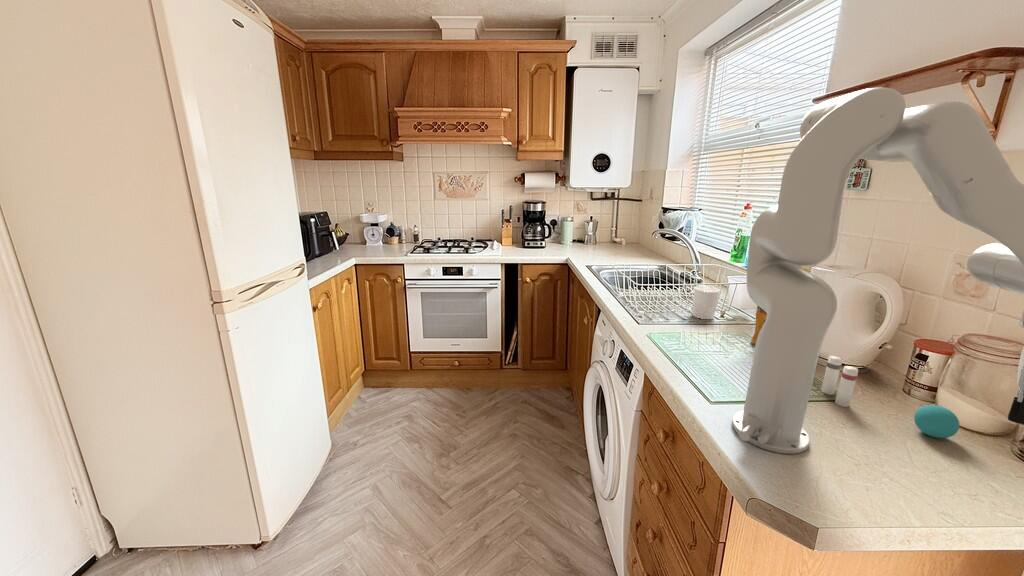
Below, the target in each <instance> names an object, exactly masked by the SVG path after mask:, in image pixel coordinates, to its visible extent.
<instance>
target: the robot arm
mask: <svg viewBox="0 0 1024 576" xmlns="http://www.w3.org/2000/svg"><path fill="white" fill-rule="evenodd" d="M799 127H800V128H799V136H800V141H799V142H798V143H797V144H796V146H795V147H794V149H793V150H792V152H791V154H790V155H789V156H788V159H787V161H786V164H785V166H784V169H783V172H782V177H781V183H780V189H779V195H778V199H777V200H778V201H777V204H775V205H773V206H771V207H769V208H767V209H765V210H764V211H762V213H760V214H759V216H757V217H756V220H755V222H753V224H752V228H751V231H750V236H749V244H748V256H747V265H746V267H747V268H746V291H747V294H748V297H749V298H750V299H751V300H752V302H753V303H754V304H755V305H756V306H757V305H758V306H759V307H760V308H762V309H763V310H764V311H765V312H766V313H767V318H766V320H765V323H764V325H763V326H762V328H761V330H760V332H759V334H758V337H757V341H756V344H754V345H755V346H754V350H753V353H754V354H753V359H752V363H751V368H750V369H751V370H750V373H749V380H748V384H747V385H748V386H747V390H746V394H745V395H746V396H745V400H744V401H745V402H744V407H743V410H741V411H738V412H735V414H734V415H733V416H732V420H731V425H732V427H733V430H734V431H735V432H736V434H738V437H739V438H740V440H742V441H743V442H749V443H750V444H752V445H753V446H756V447H758V448H760V449H764V450H765V451H770V452H774V453H778V454H783V455H784V454H789V455H794V454H800V453H803V452H805V451H807V449H809V446H810V443H811V441H810V436H809V434H808V432H807V431H806V430H805V429H804V428H803V425H804V421H805V416H806V413H807V408H808V403H809V400H810V396H811V391H812V387H813V382H814V379H815V374H816V370H817V369H816V368H817V363H818V361H819V356H820V352H821V349H822V345H823V342H824V340H825V338H826V335H827V333H828V330H829V329H830V327H831V325H832V324H833V321H834V319H835V317H836V316H835V315H836V313H837V310H838V309H837V308H838V299H837V295H836V294H835V291H834V289H833V288H832V287H831V286H830V285H829V283H827V282H826V281H825V280H824V279H822V278H821V277H819V276H817V275H816V276H815V275H813V274H811V273H808V272H806V271H804V270H801V269H802V265H803V266H808V265H816V266H817V265H818V264H821V263H824V262H825V261H826V260H828V259H829V257H830V256H831V255H832V253H833V252H834V250H835V248H836V245H837V241H838V234H839V227H840V222H841V221H840V220H841V219H840V218H841V212H842V206H843V197H844V192H845V188H846V184H847V180H848V178H849V175H850V172H851V170H853V168H854V166H855V165H856V164H857V162H858V161H860V160H867V161H875V162H876V161H877V162H890V163H895V162H896V163H900V162H909V163H910V164H911V165H912V167H913V168H914V169H915V171H916V173H917V174H918V175H919V178H920V179H921V181H922V183H923V184H924V185H925V187H926V188H927V190H928V192H929V194H930V195H931V198H933V201H934V202H935V204H936V206H937V207H938V209H939V210H941V211H942V212H943V213H944V214H946V215H948V216H949V217H951V218H953V219H954V220H956V221H958V222H960V223H962V224H965V225H967V226H970V227H971V228H974V229H976V230H978V231H980V232H982V233H985V234H986V235H988V236H990V237H992V238H993V239H995V240H997V242H991V243H987V244H985V245H982V246H980V247H979V248H977V249H976V250H974V251H973V252H972V253H971V254H970V255H969V257H968V259H967V261H966V268H967V271H968V273H969V275H970V276H972V278H973V279H975V280H976V281H978V282H980V283H982V284H984V285H988V286H990V287H994V288H997V289H1001V290H1004V291H1008V292H1012V293H1013V292H1014V293H1017V294H1020V295H1023V296H1024V184H1023V183H1022V182H1021V181H1019V179H1017V177H1016V175H1015V174H1014V173H1013V171H1012V170H1011V168H1010V165H1009V163H1008V162H1007V159H1005V157H1004V155H1003V154H1002V152H1001V150H1000V148H999V147H998V145H997V143H996V141H995V140H994V137H993V136H992V134H991V132H990V131H989V129H988V127H987V126H986V124H985V122H984V120H983V118H982V117H981V116H980V114H979V112H978V111H977V110H976V109H975V107H974V106H972V105H970V104H968V103H967V102H962V101H942V102H934V103H929V104H923V105H918V106H914V107H908V108H907V107H906V101H905V97H904V96H903V95H902V93H901V92H900V91H898V90H896V89H894V88H890V87H882V86H881V87H880V86H879V87H878V86H877V87H871V88H870V87H869V88H865V89H861V90H857V91H853V92H851V93H847V94H844V95H841V96H838V97H835V98H831V99H828V100H825V101H823V102H820V103H819V104H816V105H815V106H814V107H812V108H811V109H810V110H809V111H808V112H807V113H806V114H805V115H804V117H803V118H802V121H801V124H800V126H799ZM1018 326H1019V327H1021V328H1022V329H1024V310H1023V312H1022V314H1021V318H1020V321H1019V323H1018ZM1016 375H1017V376H1016V386H1017V387H1018V391H1017V394H1016V396H1013V397H1014V398H1013V400H1012V404H1011V406H1010V408H1009V412H1008V414H1007V416H1008V417H1007V420H1008V421H1010V422H1011V423H1012V422H1013V423H1016V424H1020V425H1023V426H1024V345H1023V347H1022V349H1021V354H1020V356H1019V362H1018V366H1017V374H1016Z"/></svg>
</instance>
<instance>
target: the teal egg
mask: <svg viewBox="0 0 1024 576" xmlns="http://www.w3.org/2000/svg"><path fill="white" fill-rule="evenodd" d="M913 420H914V423H915V425H916V427H917V428H918V430H920V431H921V432H922V433H924V434H925V435H927V436H929V437H931V438H937V439H946V438H947V439H948V438H951V437H953V436H954V435H956V434H957V433H958V432H959V430H960V425H961V424H960V420H959V419H958V417H957V415H956V414H955V413H954V412H953V411H952V410H950V409H948V408H946V407H944V406H941V405H937V404H926V405H923V406H921V407H920V408H919V407H918V409H917V410H916V411H915V412H914V417H913Z"/></svg>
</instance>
